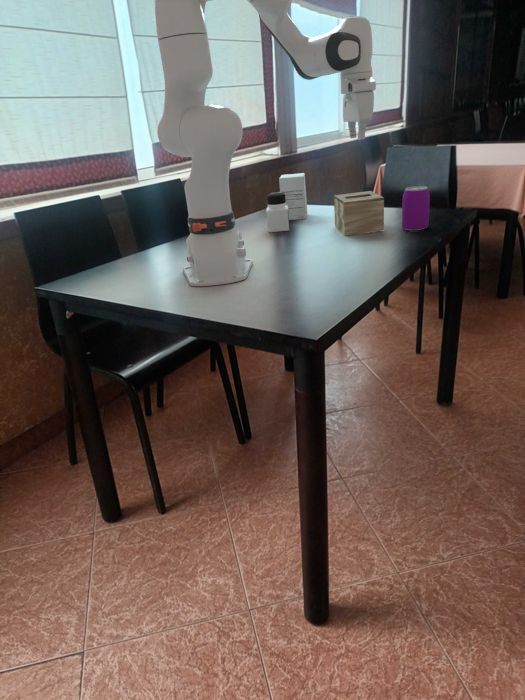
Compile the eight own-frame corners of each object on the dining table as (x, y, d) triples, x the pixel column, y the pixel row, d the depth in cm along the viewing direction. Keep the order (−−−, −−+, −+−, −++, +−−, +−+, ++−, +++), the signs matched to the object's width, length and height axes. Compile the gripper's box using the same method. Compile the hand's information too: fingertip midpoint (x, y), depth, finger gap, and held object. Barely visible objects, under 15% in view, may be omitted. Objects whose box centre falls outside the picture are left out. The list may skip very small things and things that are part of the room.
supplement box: (284, 215, 188) (280, 174, 181) (307, 214, 186) (305, 172, 180) (281, 220, 180) (278, 178, 173) (306, 219, 178) (303, 175, 172)
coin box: (383, 231, 150) (383, 197, 146) (345, 235, 150) (344, 202, 146) (370, 222, 163) (370, 190, 159) (335, 226, 163) (333, 195, 158)
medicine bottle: (289, 230, 164) (286, 193, 159) (268, 232, 164) (264, 195, 159) (289, 226, 170) (286, 190, 165) (268, 228, 171) (265, 192, 166)
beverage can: (426, 225, 152) (428, 184, 146) (429, 231, 145) (431, 188, 140) (400, 226, 153) (401, 186, 148) (402, 232, 146) (403, 191, 141)
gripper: (337, 88, 148) (338, 138, 154) (354, 84, 130) (355, 141, 136) (357, 86, 149) (358, 136, 155) (377, 82, 130) (377, 138, 136)
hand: (357, 138), depth 145 cm, fingers open, 8 cm apart
